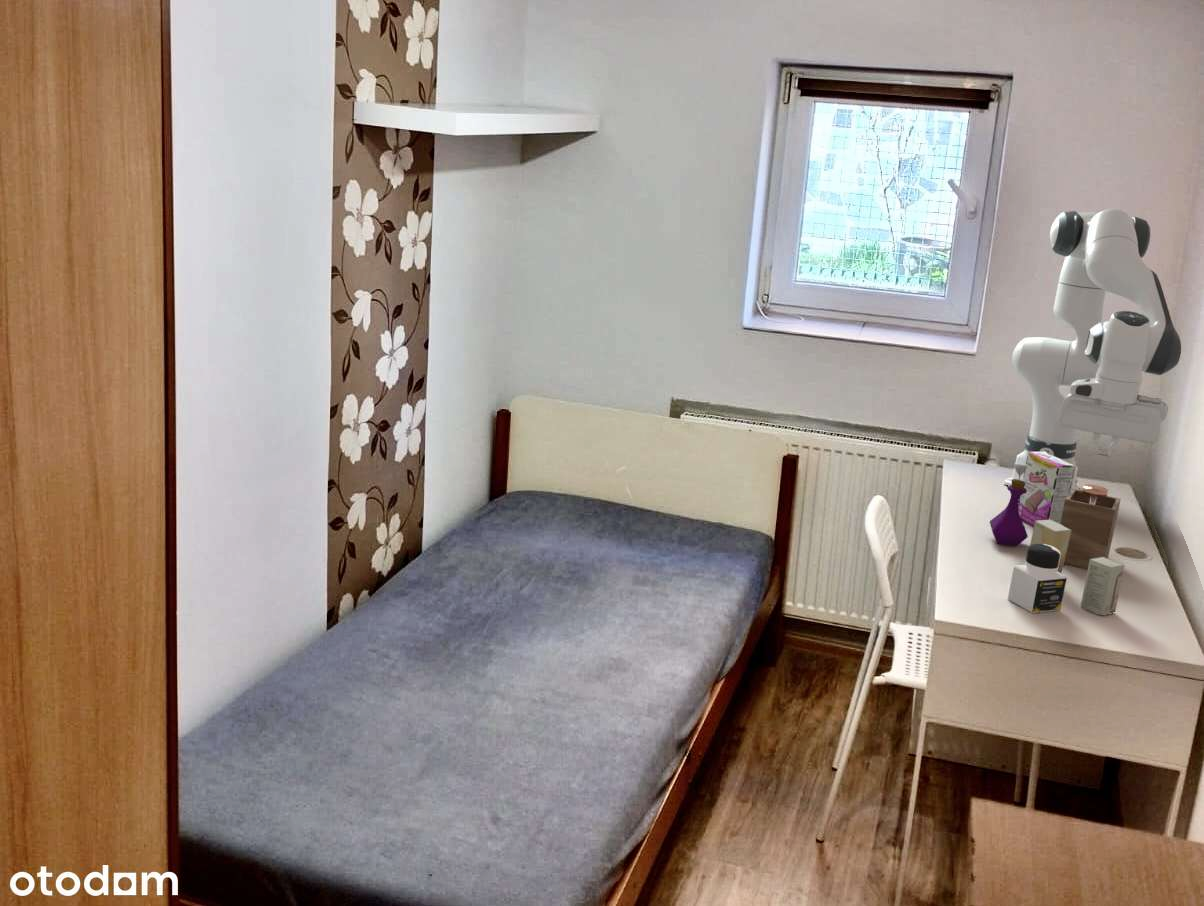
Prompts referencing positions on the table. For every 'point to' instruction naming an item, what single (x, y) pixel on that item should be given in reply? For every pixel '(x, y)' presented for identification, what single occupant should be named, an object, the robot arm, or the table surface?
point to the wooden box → (1088, 527)
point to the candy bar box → (1045, 487)
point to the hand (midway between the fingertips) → (1102, 454)
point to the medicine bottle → (1038, 580)
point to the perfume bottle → (1011, 515)
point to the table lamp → (1094, 492)
